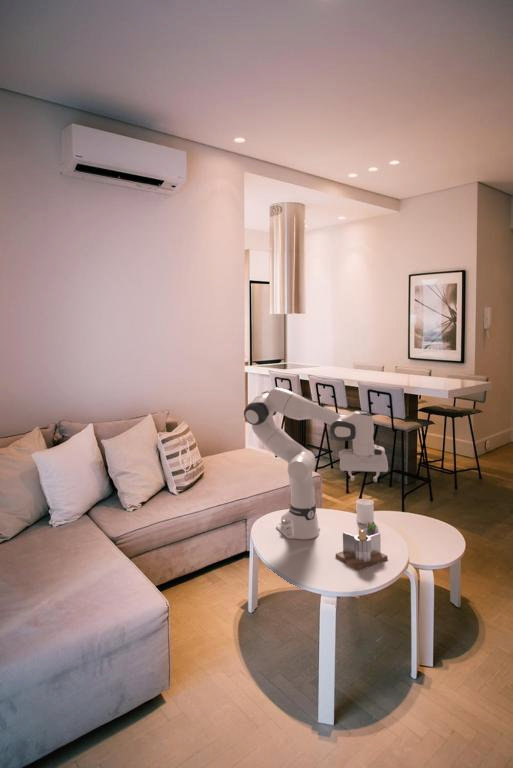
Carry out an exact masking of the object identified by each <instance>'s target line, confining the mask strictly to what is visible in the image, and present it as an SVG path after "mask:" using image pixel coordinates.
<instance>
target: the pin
mask: <svg viewBox="0 0 513 768" xmlns="http://www.w3.org/2000/svg"><path fill="white" fill-rule="evenodd" d="M364 529H365V528H362V529H361V528H360V529H359V530H358V535H359V539H360V540H366V530H364Z"/></svg>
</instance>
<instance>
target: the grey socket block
mask: <svg viewBox="0 0 513 768" xmlns="http://www.w3.org/2000/svg"><path fill="white" fill-rule="evenodd" d="M342 551H343V552H345V553H348V554H350V555H353V556H355V560H356V561H358V562H361V563H368V562H370V561H371V556H374V555H376V554H379V553H382V552H381V551H382V549H381V533H380V532H379V533H377V534H374V535H371V536H368V535H366V540H360V539H359V534H356V535H354V534H351V533H349V532H345V531H343V532H342Z"/></svg>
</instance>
